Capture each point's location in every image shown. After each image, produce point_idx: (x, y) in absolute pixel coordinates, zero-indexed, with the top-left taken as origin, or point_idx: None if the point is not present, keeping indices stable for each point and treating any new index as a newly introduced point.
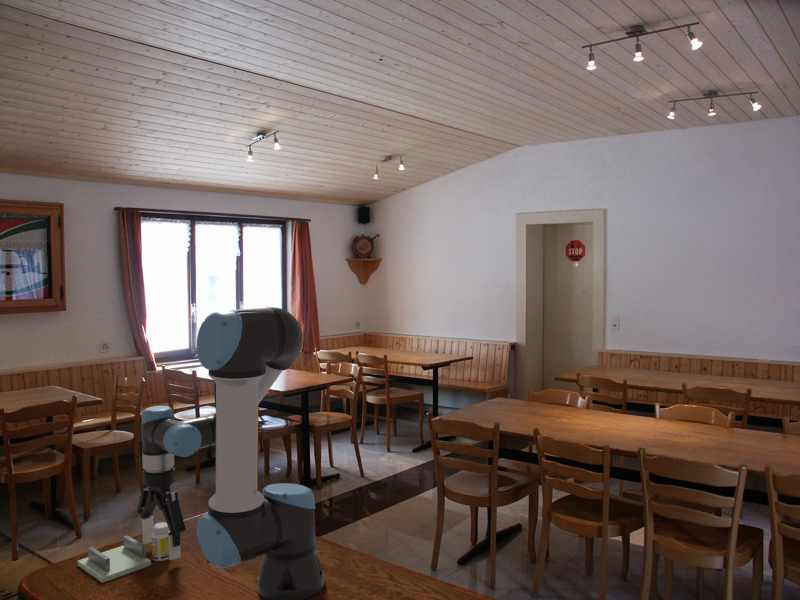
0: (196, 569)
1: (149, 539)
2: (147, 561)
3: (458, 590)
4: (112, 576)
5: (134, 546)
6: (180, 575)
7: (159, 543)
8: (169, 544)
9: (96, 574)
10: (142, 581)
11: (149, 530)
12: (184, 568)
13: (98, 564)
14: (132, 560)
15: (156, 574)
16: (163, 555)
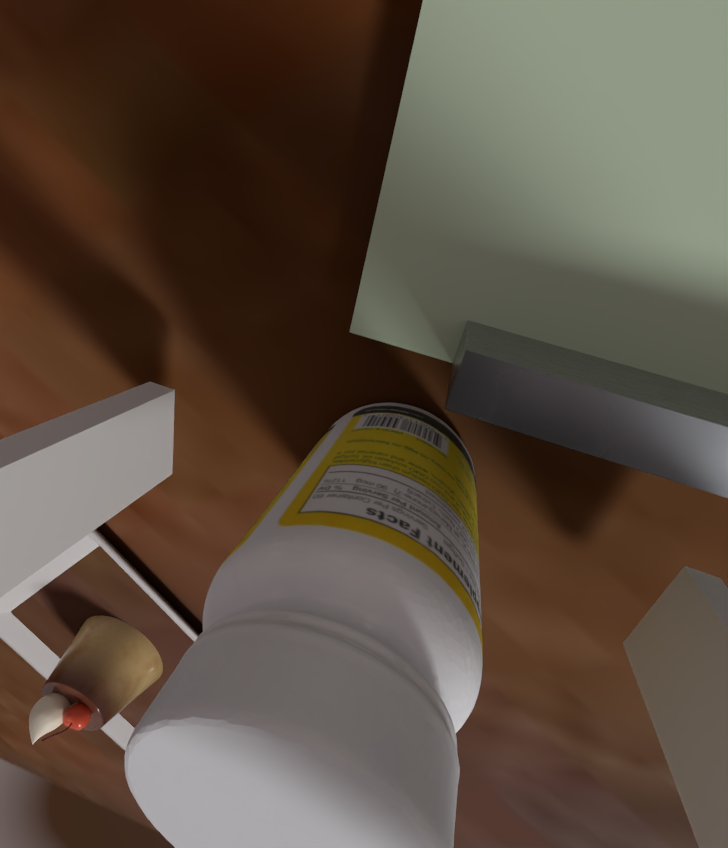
0: (45, 410)
1: (662, 640)
2: (362, 300)
3: None
4: None
5: (703, 406)
6: (33, 294)
7: (281, 500)
8: (6, 448)
9: None
10: (145, 7)
11: (719, 766)
12: (109, 391)
13: None
14: (555, 235)
15: (174, 209)
16: (312, 449)
